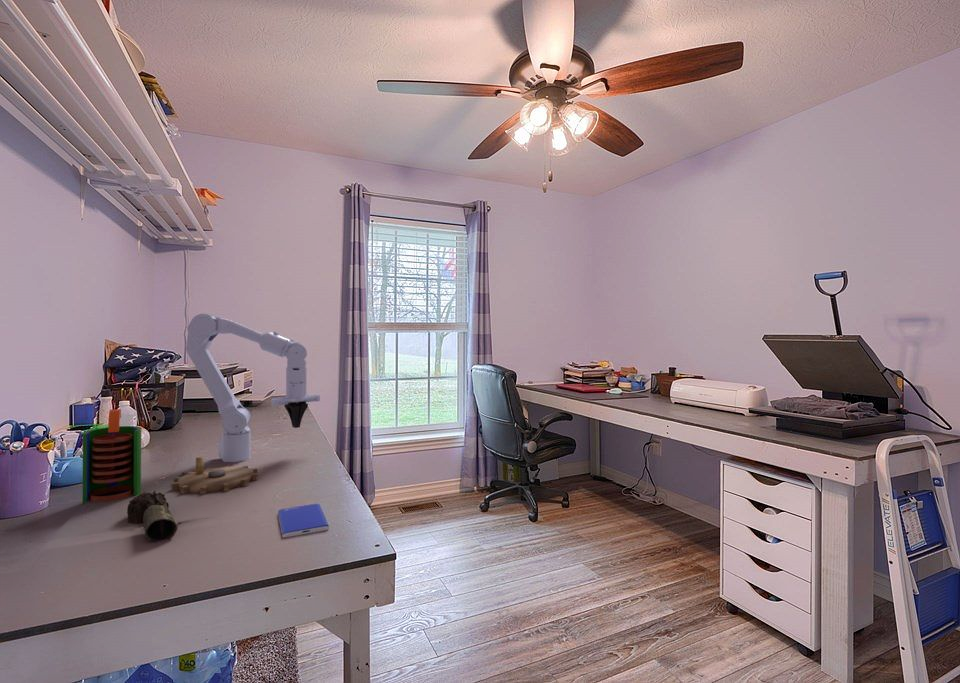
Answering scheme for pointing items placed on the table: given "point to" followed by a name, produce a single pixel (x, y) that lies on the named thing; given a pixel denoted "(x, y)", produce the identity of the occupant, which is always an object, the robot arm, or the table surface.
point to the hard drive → (302, 520)
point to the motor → (111, 461)
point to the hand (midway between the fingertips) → (296, 427)
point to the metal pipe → (152, 516)
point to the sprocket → (214, 478)
